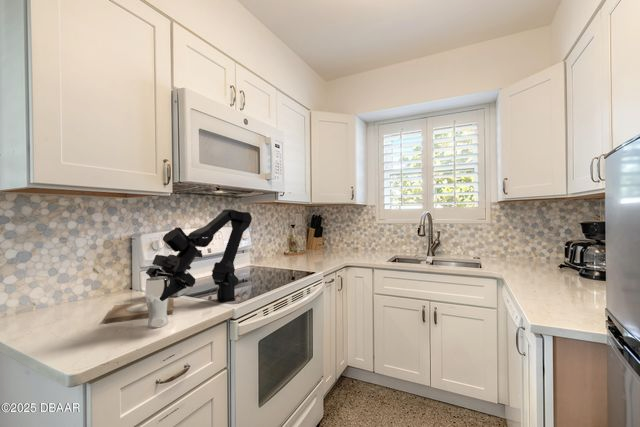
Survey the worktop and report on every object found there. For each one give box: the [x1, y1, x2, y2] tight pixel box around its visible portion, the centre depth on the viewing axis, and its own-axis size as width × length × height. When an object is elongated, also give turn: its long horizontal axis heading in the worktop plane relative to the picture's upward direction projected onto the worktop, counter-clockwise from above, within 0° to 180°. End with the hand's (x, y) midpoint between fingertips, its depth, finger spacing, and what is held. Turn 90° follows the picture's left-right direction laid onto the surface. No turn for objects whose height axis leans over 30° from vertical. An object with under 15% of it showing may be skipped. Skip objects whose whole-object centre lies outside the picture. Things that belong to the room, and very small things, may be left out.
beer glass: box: [144, 276, 170, 329], centre depth 94 cm, size 7×7×15 cm
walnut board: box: [104, 298, 175, 324], centre depth 106 cm, size 20×16×2 cm
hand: (153, 299), depth 92 cm, fingers closed on beer glass, 7 cm apart
